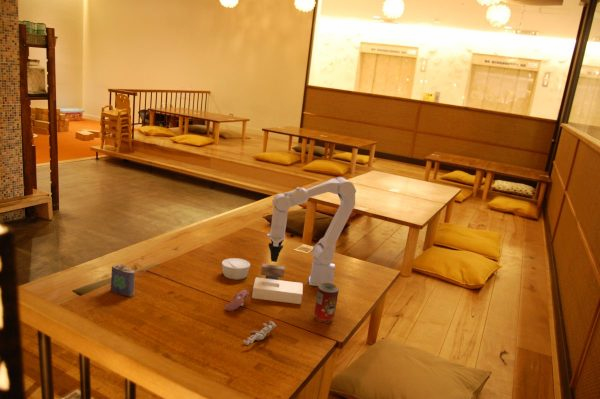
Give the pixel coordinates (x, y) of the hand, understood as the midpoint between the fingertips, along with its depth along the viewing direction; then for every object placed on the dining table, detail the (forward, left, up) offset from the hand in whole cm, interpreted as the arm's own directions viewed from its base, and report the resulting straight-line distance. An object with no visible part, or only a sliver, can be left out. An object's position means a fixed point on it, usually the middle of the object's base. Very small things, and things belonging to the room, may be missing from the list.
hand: (274, 257), depth 187 cm
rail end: (0, 0, -10) cm, 10 cm away
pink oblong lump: (+10, +25, -10) cm, 29 cm away
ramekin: (+15, -2, -10) cm, 18 cm away
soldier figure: (+1, +45, -10) cm, 46 cm away
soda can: (-20, +26, -10) cm, 34 cm away
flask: (+50, +26, -10) cm, 57 cm away
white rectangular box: (-3, +12, -10) cm, 16 cm away
